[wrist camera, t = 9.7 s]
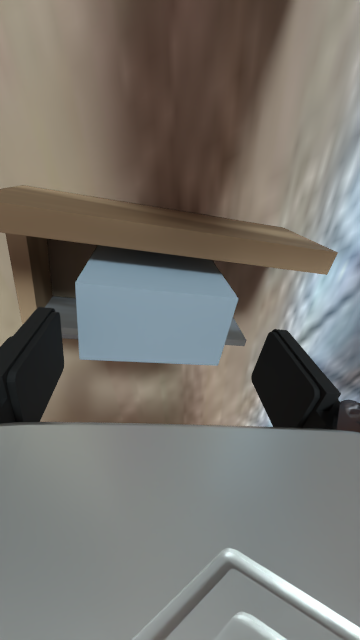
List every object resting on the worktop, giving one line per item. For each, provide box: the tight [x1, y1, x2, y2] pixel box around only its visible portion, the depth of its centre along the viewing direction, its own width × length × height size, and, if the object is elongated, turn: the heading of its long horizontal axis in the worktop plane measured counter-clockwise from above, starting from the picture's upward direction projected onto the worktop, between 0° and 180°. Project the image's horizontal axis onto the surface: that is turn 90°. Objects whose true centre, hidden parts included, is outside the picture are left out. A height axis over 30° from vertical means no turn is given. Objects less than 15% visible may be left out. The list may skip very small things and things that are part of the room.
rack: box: [0, 185, 338, 346], centre depth 16 cm, size 11×17×6 cm, turn 81°
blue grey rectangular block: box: [75, 245, 238, 365], centre depth 15 cm, size 4×7×8 cm, turn 81°
